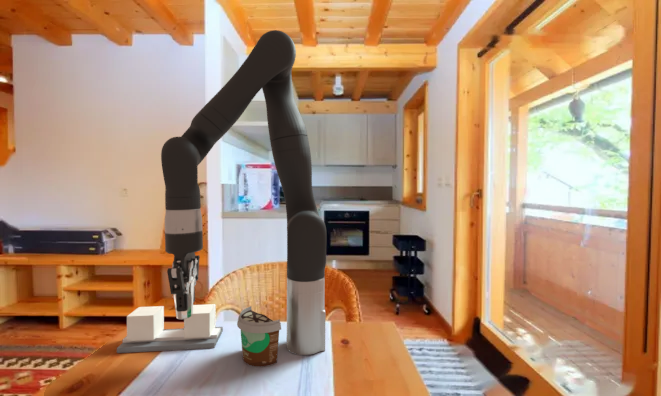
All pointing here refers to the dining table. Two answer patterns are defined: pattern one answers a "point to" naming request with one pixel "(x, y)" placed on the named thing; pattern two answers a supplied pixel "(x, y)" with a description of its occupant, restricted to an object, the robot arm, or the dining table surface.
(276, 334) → the food container
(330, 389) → the dining table surface
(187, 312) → the milkshake
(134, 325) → the twin block base plate
